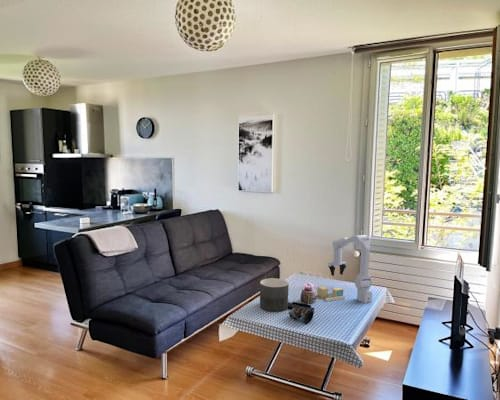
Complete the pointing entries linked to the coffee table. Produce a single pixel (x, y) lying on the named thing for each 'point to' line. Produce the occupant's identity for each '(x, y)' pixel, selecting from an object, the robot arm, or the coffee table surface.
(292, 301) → the coffee table surface
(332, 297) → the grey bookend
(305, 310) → the figurine
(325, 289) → the carton
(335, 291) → the carton faced
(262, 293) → the planter
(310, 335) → the coffee table surface
